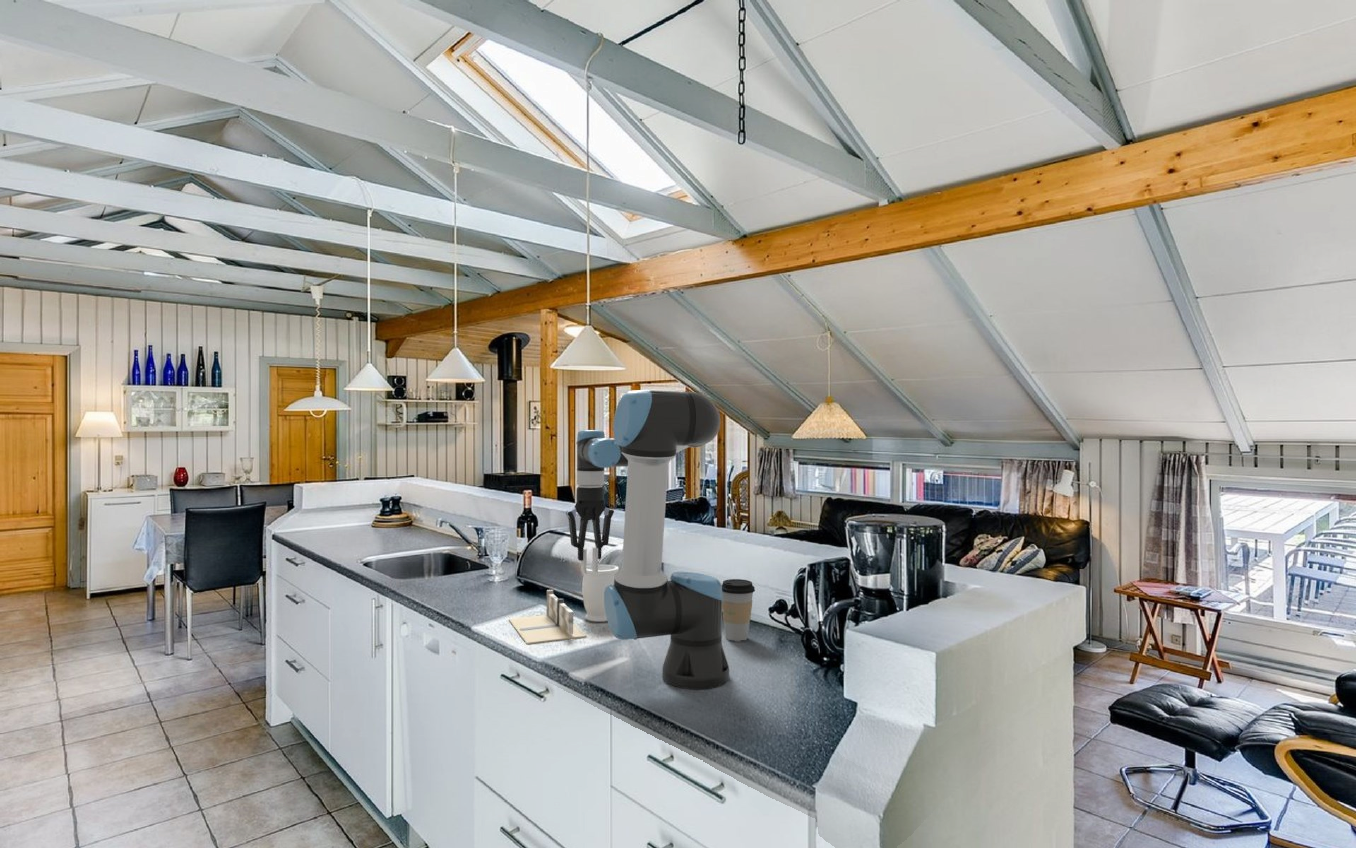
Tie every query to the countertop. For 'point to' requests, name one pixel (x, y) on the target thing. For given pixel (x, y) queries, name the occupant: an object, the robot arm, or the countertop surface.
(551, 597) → the fence fixed
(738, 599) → the coffee cup
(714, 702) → the countertop surface
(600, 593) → the jar
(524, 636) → the card
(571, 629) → the fence flap
